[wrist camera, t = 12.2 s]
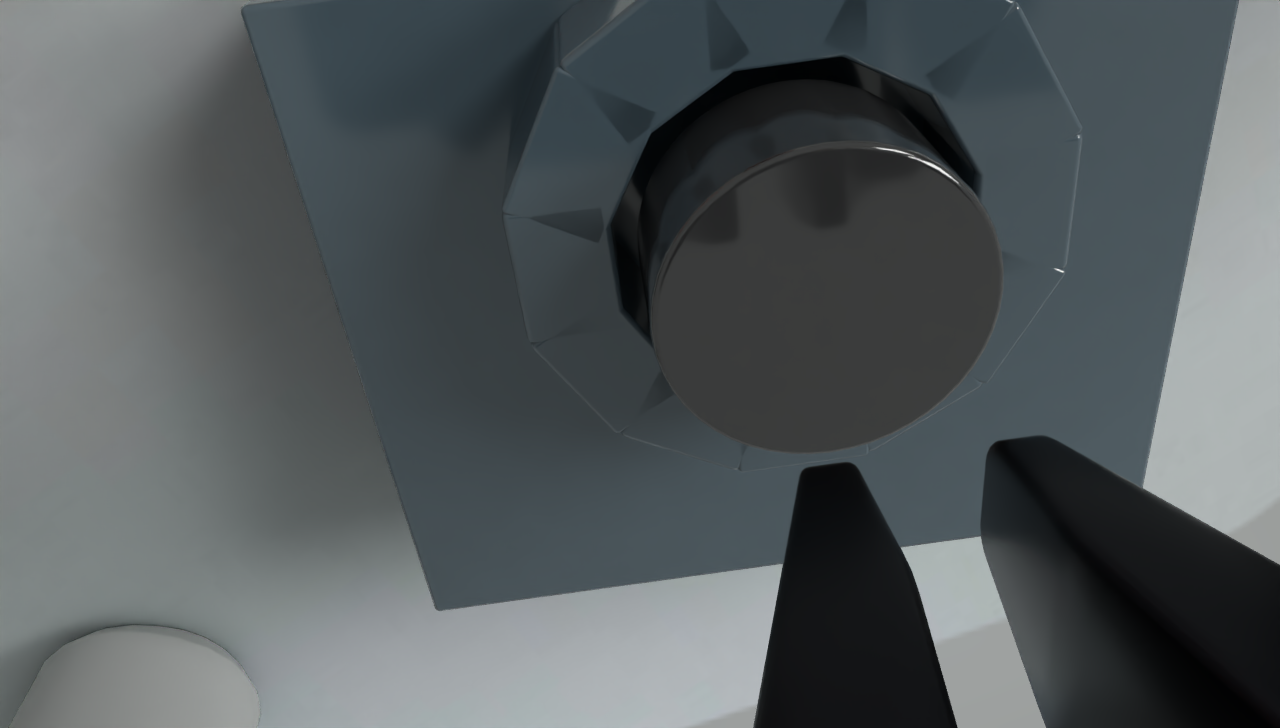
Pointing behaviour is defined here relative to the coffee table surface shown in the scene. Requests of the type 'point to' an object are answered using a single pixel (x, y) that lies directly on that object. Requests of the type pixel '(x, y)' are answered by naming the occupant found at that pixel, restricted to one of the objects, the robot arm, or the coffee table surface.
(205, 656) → the beverage can
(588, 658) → the coffee table surface
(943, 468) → the dispenser
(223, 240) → the coffee table surface
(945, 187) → the dark grey round knob
